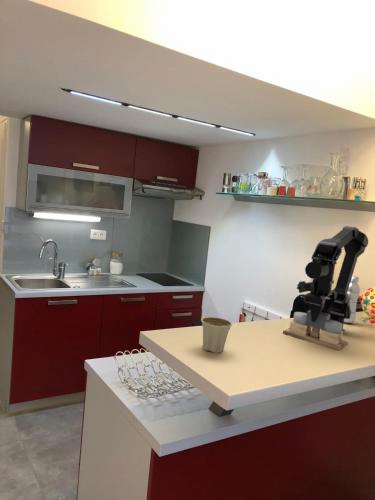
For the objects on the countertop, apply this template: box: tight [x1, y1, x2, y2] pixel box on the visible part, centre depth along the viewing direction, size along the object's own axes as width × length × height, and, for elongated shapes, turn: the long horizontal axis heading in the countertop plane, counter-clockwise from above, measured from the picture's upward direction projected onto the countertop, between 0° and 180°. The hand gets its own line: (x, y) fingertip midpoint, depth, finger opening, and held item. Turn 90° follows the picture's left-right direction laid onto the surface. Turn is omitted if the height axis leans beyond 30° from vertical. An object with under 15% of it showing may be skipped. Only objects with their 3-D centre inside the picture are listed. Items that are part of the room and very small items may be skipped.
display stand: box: [282, 320, 348, 351], centre depth 146 cm, size 10×20×4 cm, turn 55°
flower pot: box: [200, 316, 233, 353], centre depth 123 cm, size 9×9×9 cm
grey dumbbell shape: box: [292, 309, 344, 334], centre depth 145 cm, size 6×17×5 cm, turn 55°
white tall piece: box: [344, 275, 361, 324], centre depth 173 cm, size 6×7×20 cm
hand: (317, 319), depth 145 cm, fingers open, 9 cm apart
